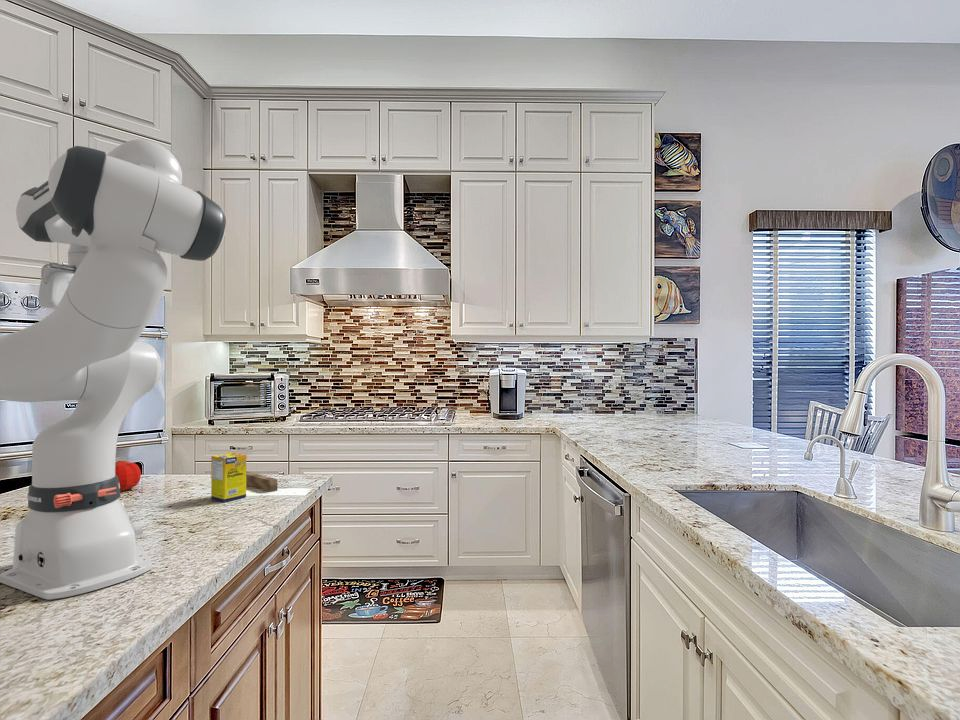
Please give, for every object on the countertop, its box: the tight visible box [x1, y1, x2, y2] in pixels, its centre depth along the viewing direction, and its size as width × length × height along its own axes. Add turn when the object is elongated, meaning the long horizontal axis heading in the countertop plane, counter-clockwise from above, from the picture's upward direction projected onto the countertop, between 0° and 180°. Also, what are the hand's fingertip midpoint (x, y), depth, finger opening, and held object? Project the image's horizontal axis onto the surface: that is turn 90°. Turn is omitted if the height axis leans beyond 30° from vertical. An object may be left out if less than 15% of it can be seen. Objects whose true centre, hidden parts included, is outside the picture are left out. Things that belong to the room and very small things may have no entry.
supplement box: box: [210, 452, 247, 503], centre depth 124 cm, size 6×6×11 cm
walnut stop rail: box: [246, 470, 278, 493], centre depth 136 cm, size 16×2×3 cm, turn 55°
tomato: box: [115, 460, 142, 493], centre depth 131 cm, size 11×11×8 cm
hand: (94, 333), depth 107 cm, fingers open, 8 cm apart
